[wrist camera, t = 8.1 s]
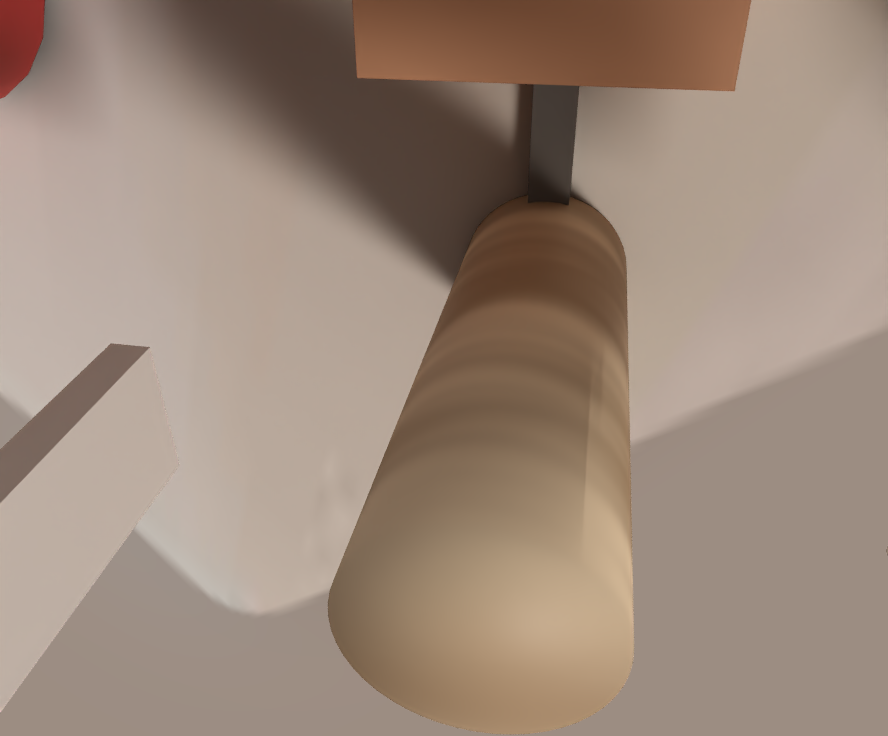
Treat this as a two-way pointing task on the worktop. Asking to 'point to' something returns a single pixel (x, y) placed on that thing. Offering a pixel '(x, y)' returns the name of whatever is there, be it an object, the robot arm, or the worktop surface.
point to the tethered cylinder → (517, 387)
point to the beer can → (19, 40)
